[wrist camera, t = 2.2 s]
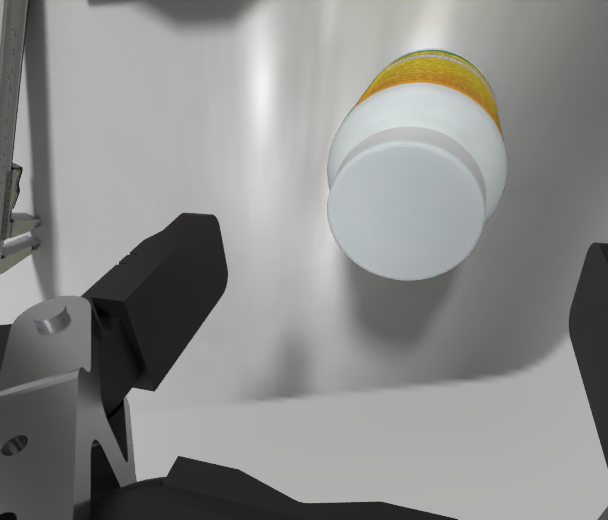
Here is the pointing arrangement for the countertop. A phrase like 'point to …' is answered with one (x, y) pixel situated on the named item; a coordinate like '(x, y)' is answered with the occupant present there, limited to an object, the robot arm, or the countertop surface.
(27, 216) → the caliper
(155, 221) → the countertop surface
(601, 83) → the countertop surface
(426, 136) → the supplement bottle
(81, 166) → the countertop surface
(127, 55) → the countertop surface
